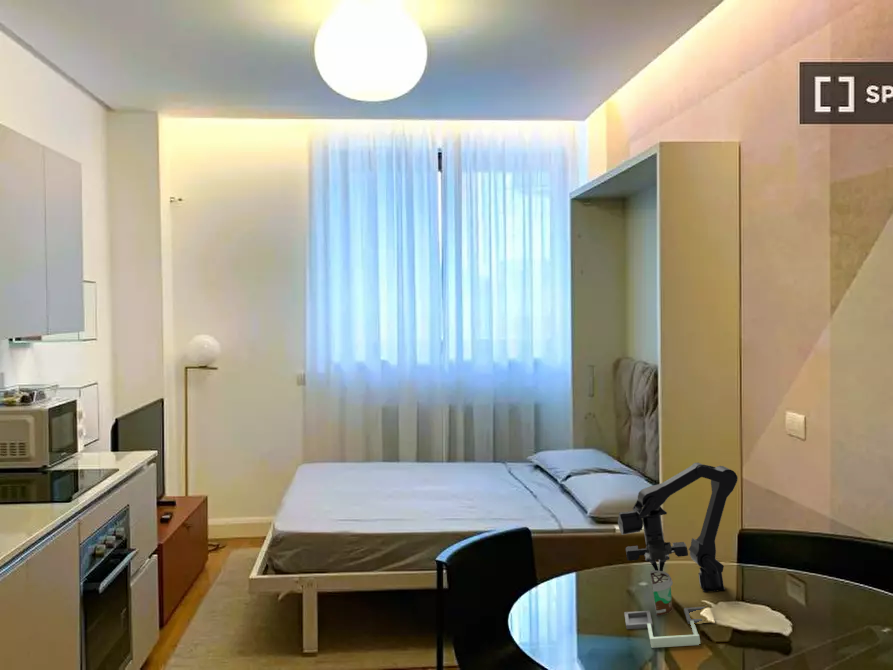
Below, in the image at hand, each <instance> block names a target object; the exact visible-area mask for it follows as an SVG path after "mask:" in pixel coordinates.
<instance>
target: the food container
mask: <svg viewBox="0 0 893 670" xmlns="http://www.w3.org/2000/svg"><path fill="white" fill-rule="evenodd" d="M649 575H650V582H651V587H652V588H651V589H652V594H653V602H654V609H655V614H656V616H657V617H658V616H664V615H667V614H670V613H671V612H672V611H673V599H672V597H673V596H672V586H673V584H674V582H673V580H672V577H671V576H670V574H669V573H668V572H666V571H664V570H663V571H656V570H655V569H654V570H649Z"/></svg>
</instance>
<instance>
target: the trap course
mask: <svg viewBox="0 0 893 670" xmlns="http://www.w3.org/2000/svg"><path fill="white" fill-rule="evenodd" d="M705 607H706V606H697V607H696V606H694V607H684V608H683V613H684V615H685V618H686V622H687V625H688V624H690V625H691V626H690V625H689V626H690V628H692V629H691V631H692V634H681V635H666V636H665V635H664V636H654V634H653V627H654V626H653V625H654V624H653V620H652V615H651V611H650V610H641V611H640V610H639V611H624V613H623V614H624V619H625V627H626V630H634V629H638V630H639V629H647V633H648V638H649V643H650V647H651V649H655V648H670V647H673V648H674V647H685V646H686V647H687V646H700V645H699V644H701V638H700V634H699V633H698V630H697V627H696V625H695V624H694V623H697V622H699V621H702V619H691V618H690V615H689V613H690V612H693V611H696V610H701V609H703V608H705Z"/></svg>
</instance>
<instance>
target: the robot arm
mask: <svg viewBox="0 0 893 670" xmlns="http://www.w3.org/2000/svg"><path fill="white" fill-rule="evenodd" d="M701 478H704V479H706V480H710V486H711V495H710V498H709V501H708V506H707V508H706V513H705V516H704V520H703V524H702V528H701V532H700V534H699V536H698V537H697V538H696V539H695V538H693V537H692V538H691V543H690V546H689V548H688V547H687V544H686V542H684V541H679V542H678V541H675V542H672V545H671V542H670V541H667V542H665V537H664V530H663V524H662V517H661V516H664V515H667V514H668V512H667V511H666V510H664V509H663V508H662V507H661V506H662V505H664V504H665V503H666V502H667V500H668V499H669V497H671V496H672V495H674V494H676V493H677V492H679V491H680V490H682V489H684V488H685V487H687V486H689V485H690V484H692V483H694V482H695V481H697V480H699V479H701ZM737 483H738V475H737V473H736V472H735V471H734V470H732V469H731V468H729V467H726V466H724V465H719V466H716V467H715V466H712V465H708V464H702V463H700V462H694V463H692V465H689V466H688V467H687V468H685V469H684V470H682V471H680V472H678V473H677V474H675V475H673V476H672V477H670V478H669V479H668V478H667V480H665V481H663V482H661V483H658V484H654V485H651V486H648V487H645V488H643V489H640V491H638V495H637V499H636V502H635V503H634V504H633V505H634V506H633V507H632V510H631V511H629V510H628V511H620V512H618V519H617V525H618V529H619V531H620V534H621V535H628V534H634V533H640V532H641V531H642V530H643V533H644V540H645V548H639V546H638V545H632V546H629V545H628V546H626V547H625V553H626V554H625V555H626V560H627V561H638V560H639V559H640V556H644V558H645V561H646V562H649V563H650V564H651V566H652V567H653V569H654V570H656V571H663V572H664V566H665V563H666V562H667V561H669V560H670V555H673V554H674V555H675V556H676V557H679V558H680V557H687V556H690V558H691V560H692V561H693V562H695V563H696V564H697V566H699V572H698V580H699V586H700V589H702V591H703V592H704V593H709V592H708V591H713V592H718V591H717V590H725V591H726V588H725V585H724V579H723V572H724V567H725V566H724V565H723V564H722V563H721V562H720V561H719V560H718V559H717V558H716V557H717V556H716V554H717V548H716V547H717V546H716V538H717V535H718V530H719V527H720V523H721V521H722V520H721V519H722V517H723V512H724V509H725V505H726V502H727V499H728V497H729V496H730V495H731V494H732V492H733V491H734V489H735V488H736V487H735V486H736V485H737ZM657 561H658V563H657ZM706 591H707V592H706Z"/></svg>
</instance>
